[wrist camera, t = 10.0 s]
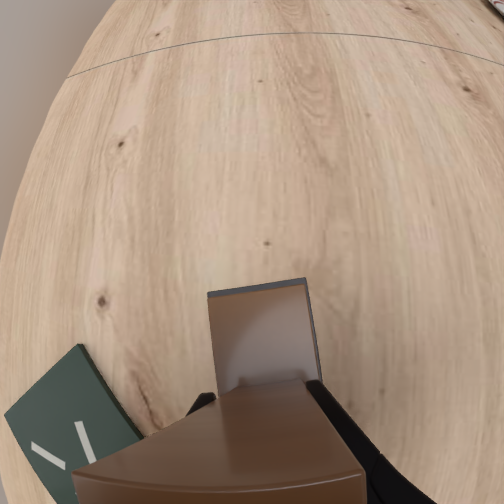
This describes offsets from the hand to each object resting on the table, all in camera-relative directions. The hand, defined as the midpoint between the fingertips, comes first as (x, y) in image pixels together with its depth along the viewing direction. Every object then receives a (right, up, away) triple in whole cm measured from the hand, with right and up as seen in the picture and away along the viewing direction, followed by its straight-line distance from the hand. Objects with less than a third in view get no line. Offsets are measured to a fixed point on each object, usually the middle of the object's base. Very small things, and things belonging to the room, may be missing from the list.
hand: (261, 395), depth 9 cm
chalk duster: (+1, -4, +6) cm, 7 cm away
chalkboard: (-13, -15, +10) cm, 22 cm away
